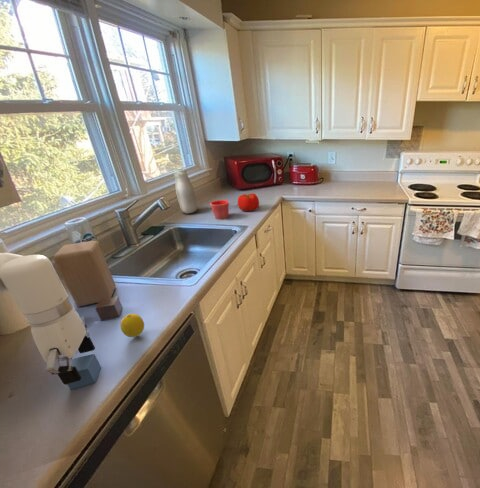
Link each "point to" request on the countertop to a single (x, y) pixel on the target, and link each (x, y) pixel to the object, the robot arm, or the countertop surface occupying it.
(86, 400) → the countertop surface
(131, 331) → the lemon
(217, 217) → the flower pot
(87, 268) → the block
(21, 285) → the robot arm
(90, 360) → the blue block
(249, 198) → the tomato
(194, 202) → the glass bottle
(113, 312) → the block right
